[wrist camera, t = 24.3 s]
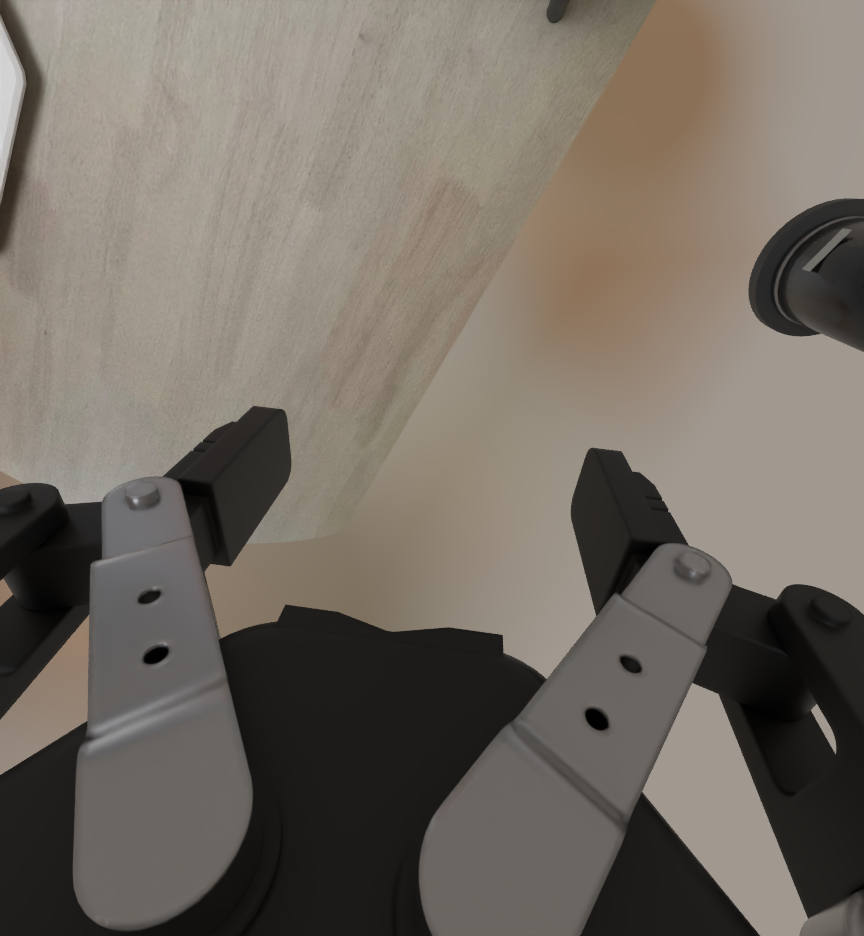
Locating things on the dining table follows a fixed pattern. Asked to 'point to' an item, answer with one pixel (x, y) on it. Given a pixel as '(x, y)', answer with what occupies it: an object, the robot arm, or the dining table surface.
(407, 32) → the dining table surface
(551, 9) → the tray
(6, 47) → the plate
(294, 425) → the dining table surface
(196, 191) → the dining table surface
